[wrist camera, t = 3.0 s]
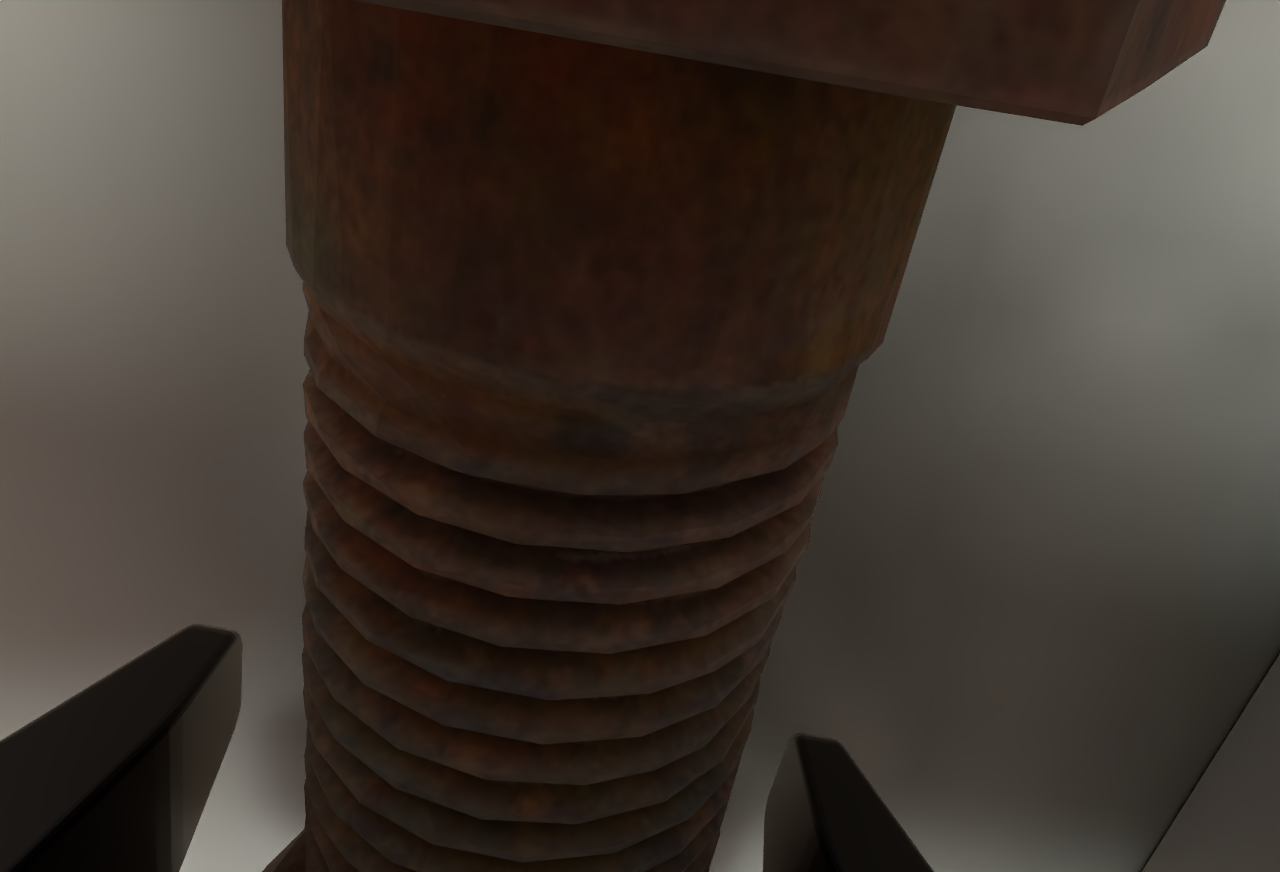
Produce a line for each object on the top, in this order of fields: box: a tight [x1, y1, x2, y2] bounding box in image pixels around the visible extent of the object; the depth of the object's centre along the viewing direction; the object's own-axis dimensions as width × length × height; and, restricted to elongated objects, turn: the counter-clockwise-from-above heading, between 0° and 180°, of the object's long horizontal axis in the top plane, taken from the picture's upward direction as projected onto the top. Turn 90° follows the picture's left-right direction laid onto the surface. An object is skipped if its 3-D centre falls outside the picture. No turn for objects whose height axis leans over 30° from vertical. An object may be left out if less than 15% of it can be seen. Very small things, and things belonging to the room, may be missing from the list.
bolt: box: [262, 0, 1226, 872], centre depth 8 cm, size 6×5×15 cm
